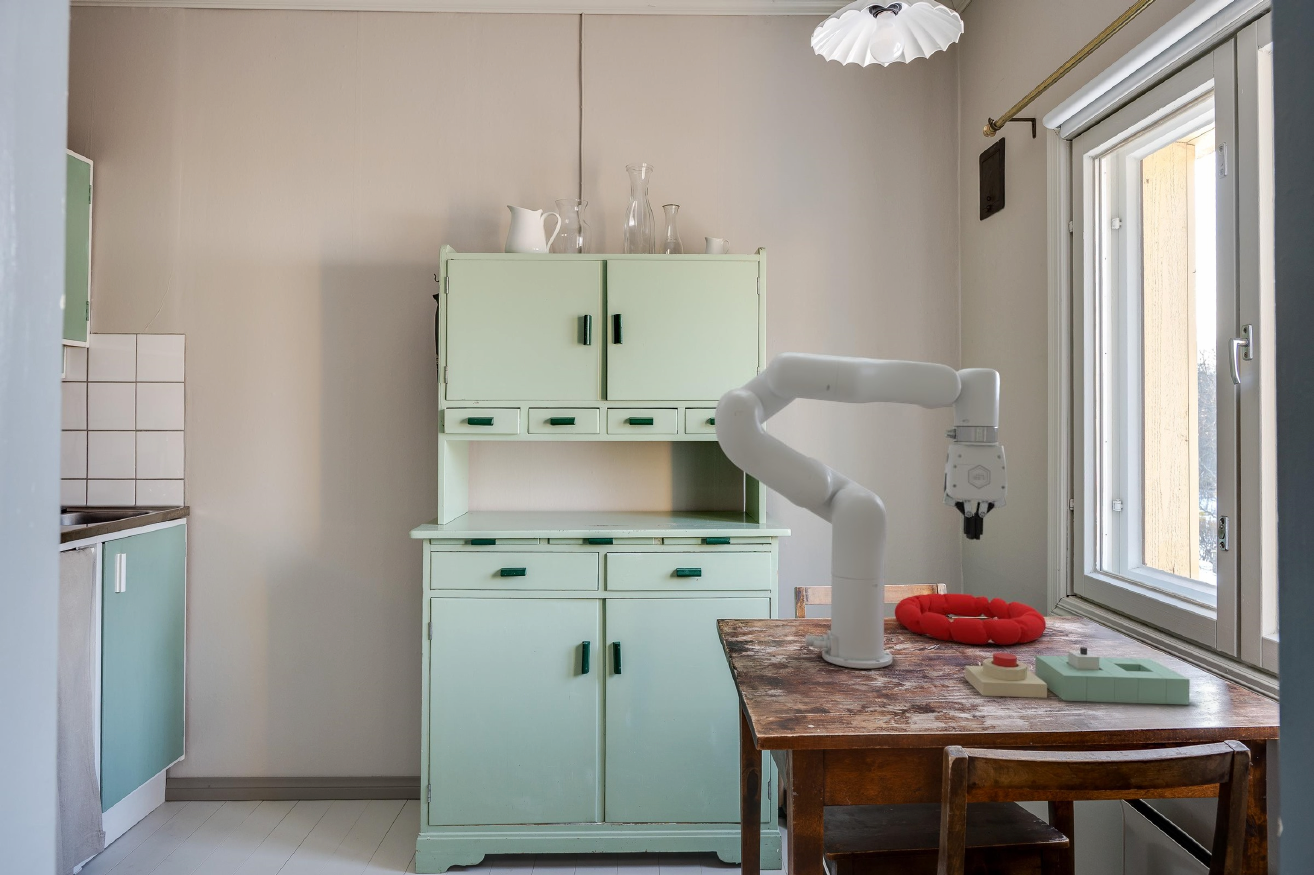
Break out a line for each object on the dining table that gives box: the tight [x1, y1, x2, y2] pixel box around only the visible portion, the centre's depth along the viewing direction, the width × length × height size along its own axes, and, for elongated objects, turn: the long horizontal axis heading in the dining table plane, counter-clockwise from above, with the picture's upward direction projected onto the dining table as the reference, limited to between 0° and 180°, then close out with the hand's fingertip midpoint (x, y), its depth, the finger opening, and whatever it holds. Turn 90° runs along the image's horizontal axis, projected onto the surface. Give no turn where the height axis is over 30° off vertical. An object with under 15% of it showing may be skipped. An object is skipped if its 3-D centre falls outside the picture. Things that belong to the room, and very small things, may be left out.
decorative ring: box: [894, 593, 1047, 646], centre depth 170 cm, size 7×30×30 cm
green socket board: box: [1034, 655, 1191, 706], centre depth 129 cm, size 19×11×4 cm, turn 86°
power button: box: [992, 652, 1018, 667], centre depth 130 cm, size 4×4×2 cm
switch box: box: [964, 657, 1048, 699], centre depth 130 cm, size 10×9×4 cm
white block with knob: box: [1067, 646, 1100, 670], centre depth 129 cm, size 3×3×7 cm
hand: (972, 538), depth 143 cm, fingers closed
